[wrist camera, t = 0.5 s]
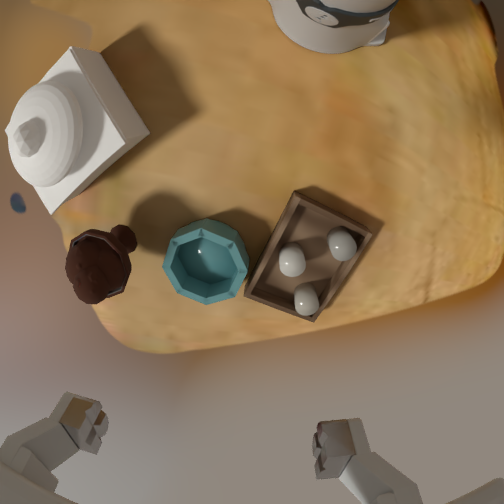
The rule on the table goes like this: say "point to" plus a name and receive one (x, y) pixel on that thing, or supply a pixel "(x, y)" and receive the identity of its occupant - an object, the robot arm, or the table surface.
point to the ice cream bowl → (100, 263)
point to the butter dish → (72, 127)
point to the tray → (315, 252)
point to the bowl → (206, 261)
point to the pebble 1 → (291, 259)
